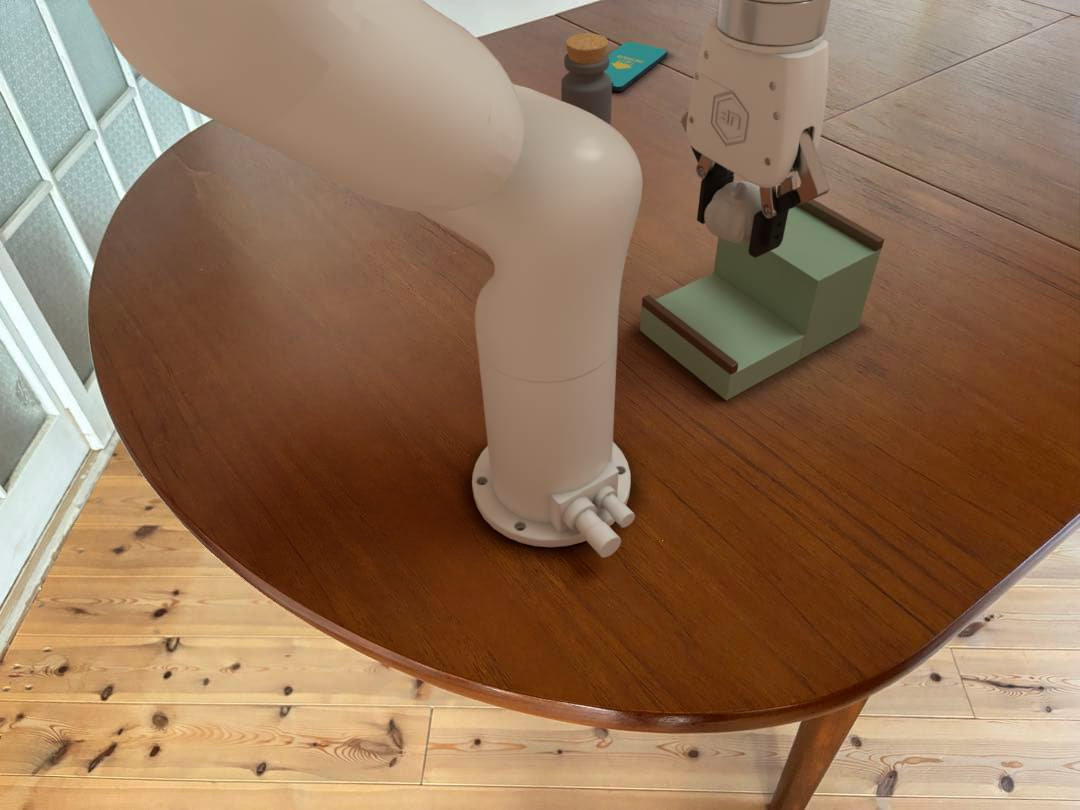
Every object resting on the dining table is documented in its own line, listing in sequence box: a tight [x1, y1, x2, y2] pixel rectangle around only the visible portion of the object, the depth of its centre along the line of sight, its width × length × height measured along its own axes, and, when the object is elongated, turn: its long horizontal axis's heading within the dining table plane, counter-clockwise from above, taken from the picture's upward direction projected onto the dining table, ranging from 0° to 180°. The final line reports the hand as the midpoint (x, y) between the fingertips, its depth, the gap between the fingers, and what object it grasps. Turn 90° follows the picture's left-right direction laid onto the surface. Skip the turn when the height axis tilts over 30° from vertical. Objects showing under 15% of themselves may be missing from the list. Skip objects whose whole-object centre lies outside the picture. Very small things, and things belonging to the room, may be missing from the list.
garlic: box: [704, 180, 762, 243], centre depth 71 cm, size 6×5×5 cm
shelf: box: [639, 184, 885, 401], centre depth 79 cm, size 12×17×10 cm
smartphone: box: [604, 41, 669, 92], centre depth 125 cm, size 7×1×15 cm
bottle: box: [560, 32, 613, 126], centre depth 100 cm, size 6×6×15 cm
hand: (738, 231), depth 72 cm, fingers closed on garlic, 5 cm apart
